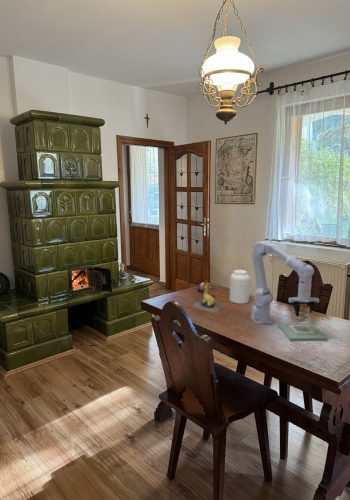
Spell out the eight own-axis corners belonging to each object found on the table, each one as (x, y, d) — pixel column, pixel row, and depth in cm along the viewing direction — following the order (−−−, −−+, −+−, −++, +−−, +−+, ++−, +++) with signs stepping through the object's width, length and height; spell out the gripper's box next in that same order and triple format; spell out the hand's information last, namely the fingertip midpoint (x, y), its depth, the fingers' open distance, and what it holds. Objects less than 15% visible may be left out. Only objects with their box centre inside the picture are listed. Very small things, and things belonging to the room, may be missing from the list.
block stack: (299, 321, 169) (299, 306, 168) (295, 318, 174) (296, 304, 173) (309, 321, 169) (310, 306, 168) (304, 318, 174) (305, 304, 173)
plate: (290, 340, 163) (290, 336, 163) (277, 326, 181) (277, 322, 180) (327, 340, 164) (327, 336, 163) (311, 325, 181) (311, 321, 181)
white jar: (242, 305, 213) (244, 274, 209) (225, 301, 221) (226, 270, 217) (252, 300, 222) (254, 270, 219) (235, 296, 230) (236, 267, 227)
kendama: (208, 293, 224) (195, 283, 242) (209, 301, 226) (196, 291, 244) (216, 291, 226) (203, 281, 244) (217, 299, 228) (204, 288, 246)
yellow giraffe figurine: (201, 300, 223) (202, 276, 219) (226, 306, 213) (228, 281, 210) (188, 307, 210) (189, 283, 206) (215, 314, 200) (216, 288, 196)
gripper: (293, 292, 164) (291, 319, 166) (322, 292, 165) (320, 318, 167) (287, 288, 171) (285, 314, 173) (316, 287, 172) (314, 313, 174)
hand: (302, 316), depth 171 cm, fingers closed on block stack, 5 cm apart
